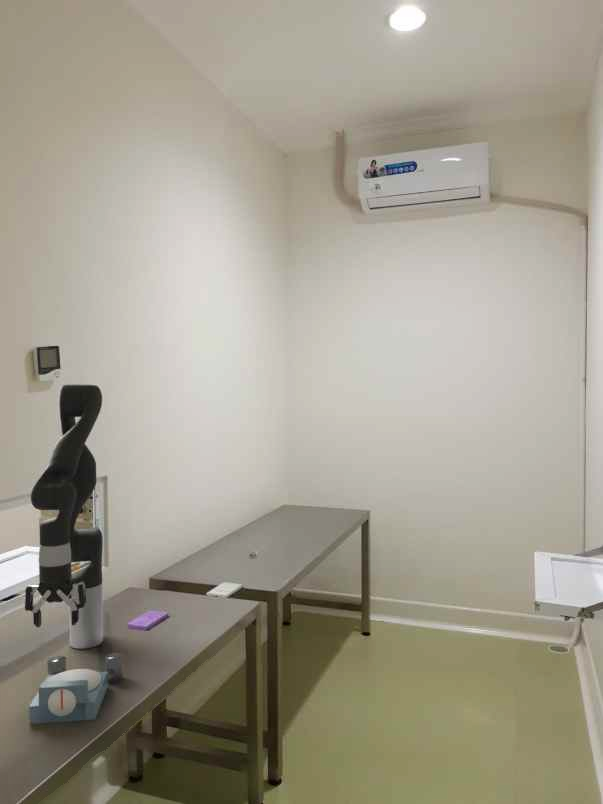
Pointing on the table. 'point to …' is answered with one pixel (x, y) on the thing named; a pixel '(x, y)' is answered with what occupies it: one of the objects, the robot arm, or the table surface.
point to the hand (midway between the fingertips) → (56, 625)
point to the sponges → (147, 620)
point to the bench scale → (69, 697)
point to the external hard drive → (224, 590)
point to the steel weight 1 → (56, 665)
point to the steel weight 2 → (114, 667)
